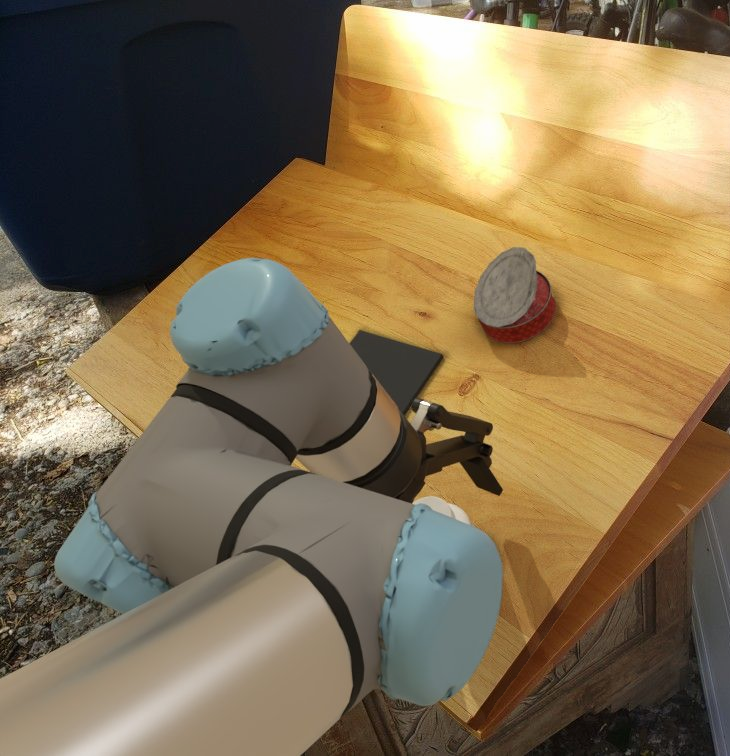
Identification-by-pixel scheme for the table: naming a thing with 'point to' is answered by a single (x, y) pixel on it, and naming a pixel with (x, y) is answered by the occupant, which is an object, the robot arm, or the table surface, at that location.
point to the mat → (396, 365)
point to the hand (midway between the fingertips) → (456, 549)
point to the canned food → (514, 298)
